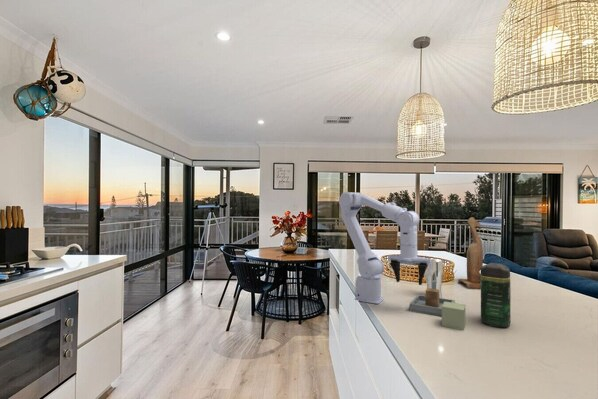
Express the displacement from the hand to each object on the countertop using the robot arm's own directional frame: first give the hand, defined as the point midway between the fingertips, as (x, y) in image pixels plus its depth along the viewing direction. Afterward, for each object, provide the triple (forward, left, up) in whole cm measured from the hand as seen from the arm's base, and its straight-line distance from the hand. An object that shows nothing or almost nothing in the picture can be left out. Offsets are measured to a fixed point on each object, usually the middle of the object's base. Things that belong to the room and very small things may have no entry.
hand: (409, 282), depth 109 cm
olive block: (+15, -7, -10) cm, 19 cm away
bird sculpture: (+18, +49, -10) cm, 53 cm away
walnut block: (+7, +5, -9) cm, 12 cm away
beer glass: (+5, +21, -10) cm, 24 cm away
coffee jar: (+26, +2, -10) cm, 28 cm away
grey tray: (+7, +5, -9) cm, 13 cm away
